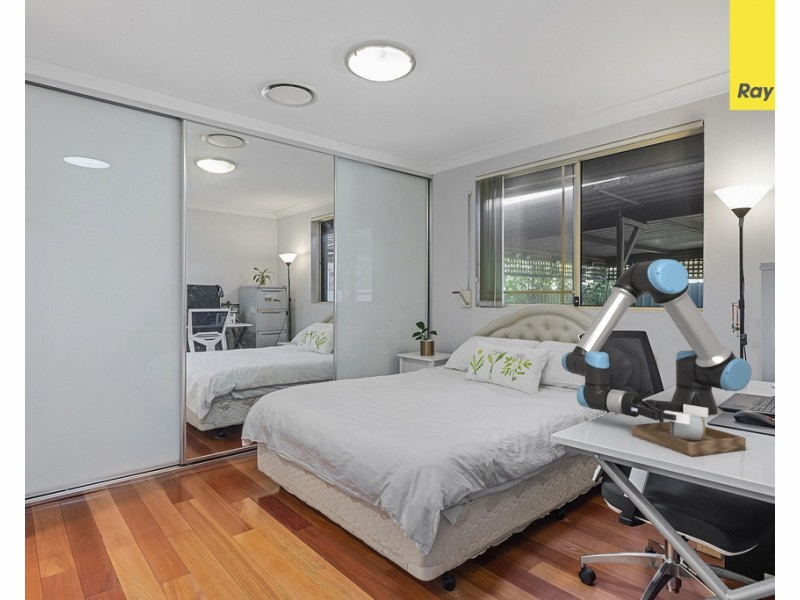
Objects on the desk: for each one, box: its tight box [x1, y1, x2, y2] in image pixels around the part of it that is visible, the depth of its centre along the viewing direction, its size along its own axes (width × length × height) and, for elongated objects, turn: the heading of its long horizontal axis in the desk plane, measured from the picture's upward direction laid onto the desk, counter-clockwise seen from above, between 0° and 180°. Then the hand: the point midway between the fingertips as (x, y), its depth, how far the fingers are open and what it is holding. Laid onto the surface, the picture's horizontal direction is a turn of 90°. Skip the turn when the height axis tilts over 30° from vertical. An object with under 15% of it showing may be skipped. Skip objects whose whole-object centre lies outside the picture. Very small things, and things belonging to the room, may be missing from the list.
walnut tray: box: [632, 421, 747, 458], centre depth 136 cm, size 20×20×4 cm
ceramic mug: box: [670, 412, 706, 441], centre depth 138 cm, size 11×8×8 cm
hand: (699, 416), depth 134 cm, fingers open, 13 cm apart
